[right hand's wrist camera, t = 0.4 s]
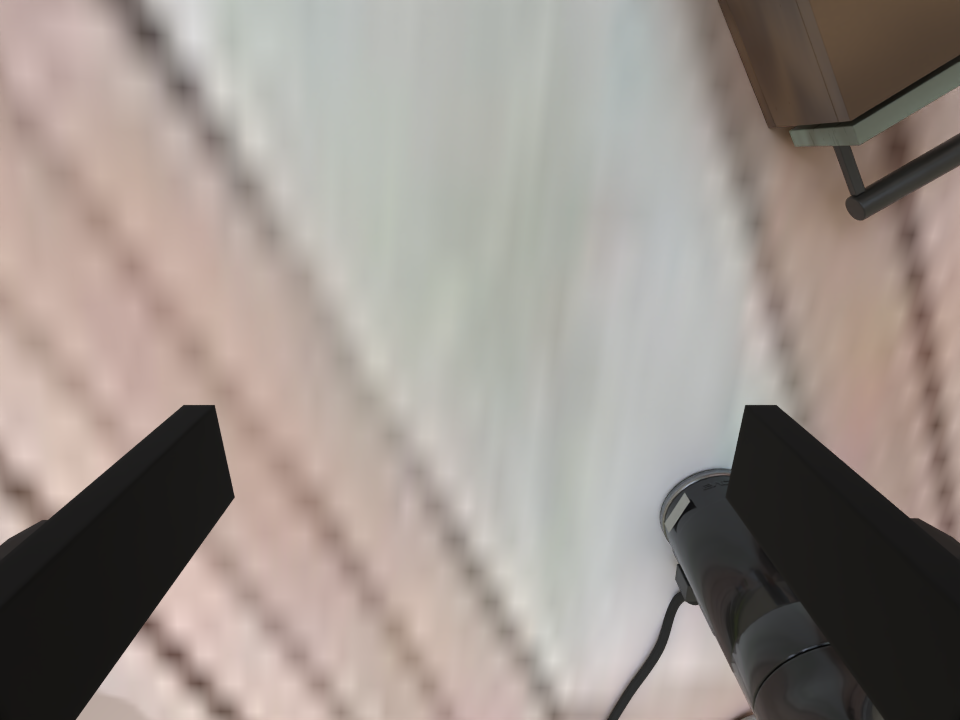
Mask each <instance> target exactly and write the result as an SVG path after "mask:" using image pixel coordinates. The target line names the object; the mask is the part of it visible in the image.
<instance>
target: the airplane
mask: <svg viewBox="0 0 960 720" xmlns="http://www.w3.org/2000/svg"><path fill="white" fill-rule="evenodd" d="M741 720H756V718H755V716H754V715H750V716H747V717H745V718H743V719H741Z"/></svg>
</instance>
